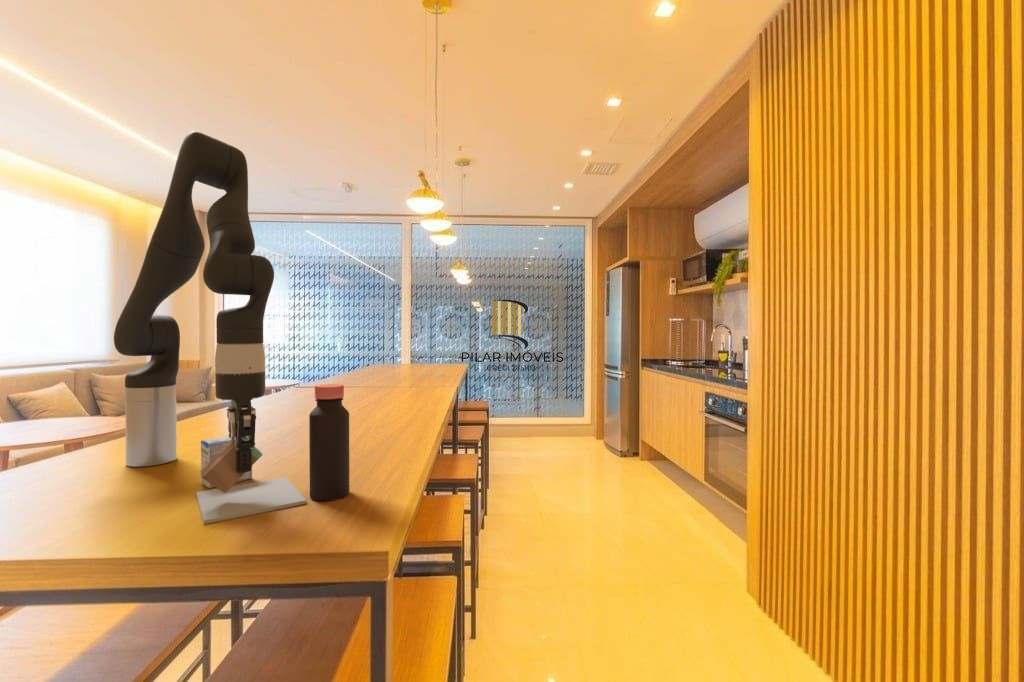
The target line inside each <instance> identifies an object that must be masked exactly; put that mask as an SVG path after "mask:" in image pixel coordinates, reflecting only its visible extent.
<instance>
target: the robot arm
mask: <svg viewBox="0 0 1024 682" xmlns="http://www.w3.org/2000/svg"><path fill="white" fill-rule="evenodd" d="M171 176H172V177H171V181H170V185H169V187H168V192H167V196H166V199H165V202H164V205H163V208H162V209H161V213H160V215H159V218H158V221H157V222H156V225H155V228H154V231H153V232H152V235H151V238H150V242H149V244H148V246H147V250H146V253H145V255H144V259H143V262H142V266H141V269H140V271H139V274H138V277H137V279H136V282H135V285H134V287H133V289H132V291H131V292H130V293H131V294H129V297H128V299H127V302H126V303H125V306H124V308H122V311H121V313H120V315H119V316H118V317H119V318H118V319H117V322H116V325H115V328H114V332H113V344H114V348H115V349H116V351H117V352H118V353H119V354H120V355H123V356H126V357H145V356H147V357H150V360H149V361H148V363H147V364H145V365H144V366H142V367H140V368H138V369H137V370H136V369H135V370H133V371H131V372H128V373H127V374H126V375H125V378H124V405H125V406H124V409H125V412H124V414H125V415H124V417H125V420H124V421H125V465H126V466H128V467H134V468H135V467H138V468H139V467H150V466H151V467H152V466H156V465H157V466H158V465H163V464H167V463H168V464H169V463H171V462H173V461H176V460H177V459H178V457H177V456H178V455H177V454H178V453H177V452H178V451H177V449H178V448H177V447H178V446H177V444H178V443H177V442H178V439H177V438H178V434H177V429H178V428H177V422H178V421H177V377H178V373H179V368H180V367H179V366H180V347H181V346H180V345H181V344H180V343H181V334H180V328H179V324H178V322H177V320H176V319H175V318H174V317H173V316H172V315H171V316H170V315H167V314H154V313H155V312H156V310H157V308H158V307H159V306H160V305H161V304H162V303H163V302H164V301H165V300H166V299H167V298H169V297H170V296H171V295H172V294H174V293H175V292H177V291H178V290H179V289H181V288H182V287H183V286H184V285H185V284H187V283H188V282H189V281H190V280H191V279H192V278H193V277H194V275H195V274H196V272H197V270H198V267H199V265H200V262H201V261H202V257H203V255H204V252H205V247H206V245H205V244H206V243H205V238H204V235H203V232H202V230H201V229H202V228H201V226H200V223H199V220H198V218H197V215H196V213H195V208H194V204H193V188H194V184H195V182H198V183H200V184H204V185H207V186H209V187H212V188H215V189H218V190H223V191H224V192H225V194H224V195H222V196H221V197H220V198H218V199H217V200H216V201H215V202H213V203H212V205H211V206H210V208H209V209H208V212H207V214H206V227H207V228H206V229H207V233H208V240H209V252H208V255H207V257H206V260H205V263H204V266H203V271H202V273H203V274H202V276H203V277H202V278H203V282H204V284H205V286H206V287H207V288H208V289H209V290H210V291H211V292H212V293H215V294H218V295H219V294H220V295H235V296H236V295H238V296H249V299H248V301H247V302H246V304H245V305H242V306H239V307H234V308H233V307H232V308H227V309H226V308H225V309H222V310H220V311H218V312H217V314H216V322H215V323H216V325H215V326H216V348H215V356H214V369H215V371H214V372H215V373H214V379H215V380H214V381H215V382H214V383H215V385H214V387H215V389H214V390H215V394H214V395H215V397H216V398H217V400H223V401H230V402H231V403H230V405H228V407H227V408H226V416H227V430H228V436H229V437H230V441H231V440H232V439H233V438H235V449H236V471H237V472H238V473H243V472H249V471H251V469H252V470H253V465H252V458H251V449H253V447H254V446H255V445H256V419H257V415H256V413H257V412H256V411H257V410H256V408H254V406H252V400H253V399H257V398H258V399H259V398H262V397H264V396H265V395H266V354H265V348H264V319H265V318H264V317H265V311H266V307H267V302H268V301H269V296H270V293H271V289H272V287H273V285H274V280H275V269H274V266H273V264H272V262H271V261H270V260H269V259H268V258H266V256H261V255H257V254H256V255H255V254H253V253H254V251H255V248H256V242H255V236H254V233H253V228H252V224H251V221H250V216H249V215H250V214H249V172H248V162H247V158H246V156H245V154H244V153H243V151H241V149H239V148H238V147H235V146H233V145H231V144H229V143H226V142H224V141H222V140H219V139H218V138H215V137H212V136H210V135H207V134H205V133H203V132H201V131H197V130H192V131H190V132H189V133H187V135H186V136H185V137H184V139H183V141H182V143H181V145H180V149H179V150H178V155H177V158H176V161H175V166H174V170H173V173H172V175H171ZM247 436H248V438H247ZM242 437H243V438H244V439H246V440H248V441H241V438H242Z"/></svg>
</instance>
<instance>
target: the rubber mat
mask: <svg viewBox="0 0 1024 682" xmlns="http://www.w3.org/2000/svg"><path fill="white" fill-rule="evenodd" d="M195 496H196V501H197V503H198V509H199V510H200V511H199V512H200V517H201V519H202V520H201V521H202V524H203V525H206V524H211V523H216V522H221V521H222V522H223V521H227V520H232V519H236V518H241V517H242V518H243V517H247V516H251V515H256V514H261V513H267V512H271V511H276V510H281V509H286V508H292V507H296V506H301V505H306V504H307V499H306V497H304V496H303V495H302V493H301V492H299V490H298V489H297V488H296V487H295V486H294V484H293V483H292V482H291V481H290V480H289V479H288V478H287V477H286V476H284V477H279V478H272V479H267V480H261V481H254V482H250V483H243V484H238V485H233V486H232V487H231V488H230V489H229V490H228V491H227V492H226V493H224V492H222V491H221V490H219V489H218V488H211V489H208V490H207V489H205V490H200V491H196V492H195Z"/></svg>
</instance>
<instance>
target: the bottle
mask: <svg viewBox="0 0 1024 682" xmlns="http://www.w3.org/2000/svg"><path fill="white" fill-rule="evenodd" d="M344 388H345V386H344V384H339V383H335V384H334V383H332V384H331V383H329V384H327V383H326V384H318V385H314V399H315V402H316V407H314V408H313V409H312V410H311V412H309V415H308V417H309V418H308V419H309V422H308V423H309V424H308V425H309V430H308V431H309V432H308V433H309V436H308V437H309V442H308V443H309V445H308V446H309V447H308V448H309V498H311V499H312V500H314V501H317V502H329V501H335V500H340V499H342V498H344V497H346V496H348V495H349V493H350V412H349V411H348V409H347V408H345V406H344V405H343V401H344V397H345V394H344V393H345V391H344V390H345V389H344Z"/></svg>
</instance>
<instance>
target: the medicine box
mask: <svg viewBox="0 0 1024 682" xmlns="http://www.w3.org/2000/svg"><path fill="white" fill-rule="evenodd" d="M247 438H248V436H247ZM247 441H248V440H247ZM229 442H230V437H229V435H226V436H219V437H212V438H209V439H208V438H207V439H202V440H201V441H200V462H201V463H200V471H201V470H202V469H203V468H204V467H205V466H206V465H207V464H208V463H209V462H210V461H211V460H212V459H213V458H214V457H215V456H216V455H217V454H218V453H219V452H220V451H221V450H222V449H223V448H224V447H225V446H226V445H227V444H228V443H229ZM200 475H201V474H200ZM200 478H201V479H200V480H201V484H202V485H204V487H207V488H208V489H213V488H216V487H215V486H214V485H212V484H211V483H209V482H208V481H206V480H205V479H203V478H202V475H201V477H200ZM251 479H253V468H252V469H251V471H249V472H245V473H244V474H243V475H242V477H241V478H240V479H239V480H238V481H237V482H241V481H247V480H251ZM237 482H236V483H237Z"/></svg>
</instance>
